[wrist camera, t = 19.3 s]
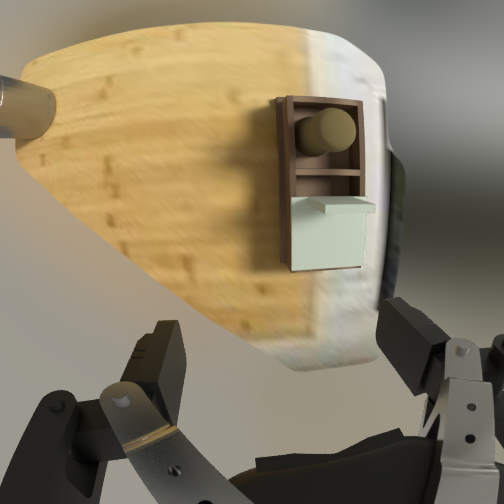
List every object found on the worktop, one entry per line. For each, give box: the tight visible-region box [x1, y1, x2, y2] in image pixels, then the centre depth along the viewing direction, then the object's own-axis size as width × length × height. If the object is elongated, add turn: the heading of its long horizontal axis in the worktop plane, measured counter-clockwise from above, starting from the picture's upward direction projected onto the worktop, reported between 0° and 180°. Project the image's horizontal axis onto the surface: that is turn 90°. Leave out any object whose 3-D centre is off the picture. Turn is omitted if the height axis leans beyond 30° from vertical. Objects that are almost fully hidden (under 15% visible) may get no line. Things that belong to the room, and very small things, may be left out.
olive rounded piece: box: [294, 108, 356, 157], centre depth 33 cm, size 6×6×11 cm
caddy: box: [276, 96, 365, 273], centre depth 39 cm, size 12×24×5 cm, turn 2°
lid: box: [291, 196, 376, 271], centre depth 35 cm, size 11×10×8 cm
